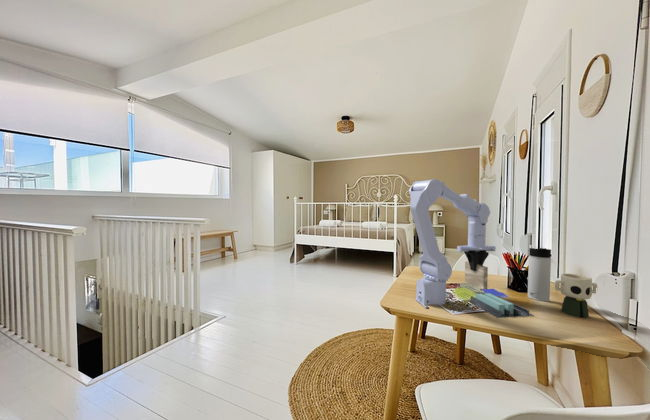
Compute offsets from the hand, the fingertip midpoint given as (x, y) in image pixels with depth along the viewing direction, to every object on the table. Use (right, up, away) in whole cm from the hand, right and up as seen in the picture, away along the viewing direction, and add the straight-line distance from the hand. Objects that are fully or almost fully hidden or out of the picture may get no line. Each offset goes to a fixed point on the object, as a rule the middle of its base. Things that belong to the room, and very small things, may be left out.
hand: (475, 270), depth 98 cm
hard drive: (+9, -11, +4) cm, 15 cm away
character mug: (+22, -11, -16) cm, 30 cm away
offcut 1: (-3, -10, -12) cm, 16 cm away
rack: (+1, -11, -12) cm, 16 cm away
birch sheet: (0, -6, 0) cm, 6 cm away
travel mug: (+22, -11, -3) cm, 24 cm away
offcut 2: (+1, -10, -12) cm, 15 cm away
